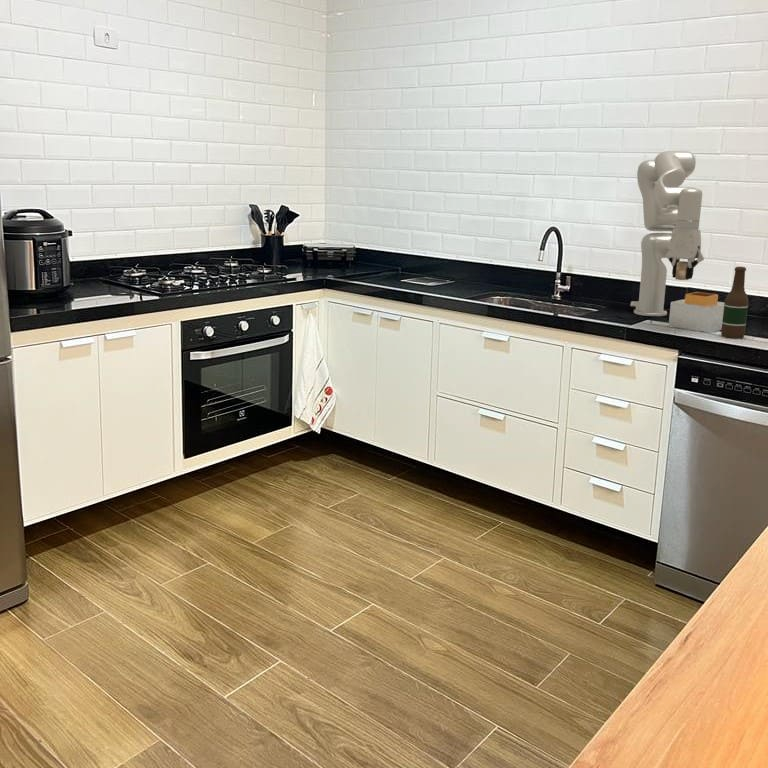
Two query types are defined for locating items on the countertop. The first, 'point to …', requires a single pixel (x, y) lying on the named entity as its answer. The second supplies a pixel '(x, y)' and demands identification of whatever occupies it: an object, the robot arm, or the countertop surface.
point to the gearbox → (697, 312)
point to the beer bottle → (735, 307)
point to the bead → (681, 270)
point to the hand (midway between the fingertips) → (682, 277)
